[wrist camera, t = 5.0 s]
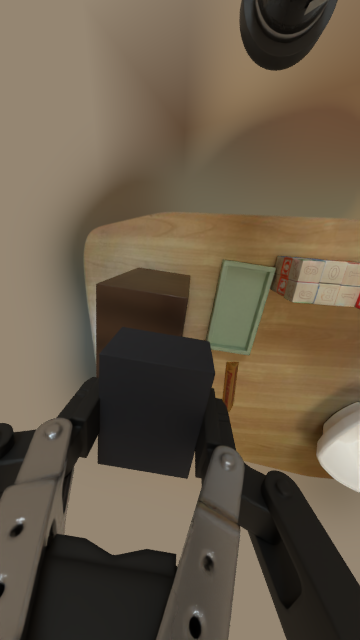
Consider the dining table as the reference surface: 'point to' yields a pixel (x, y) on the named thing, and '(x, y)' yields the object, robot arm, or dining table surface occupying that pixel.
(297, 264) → the stack of blocks
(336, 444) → the bowl
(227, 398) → the chocolate bar
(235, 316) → the tray
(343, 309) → the dining table surface
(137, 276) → the stand
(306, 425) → the dining table surface
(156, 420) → the pad
